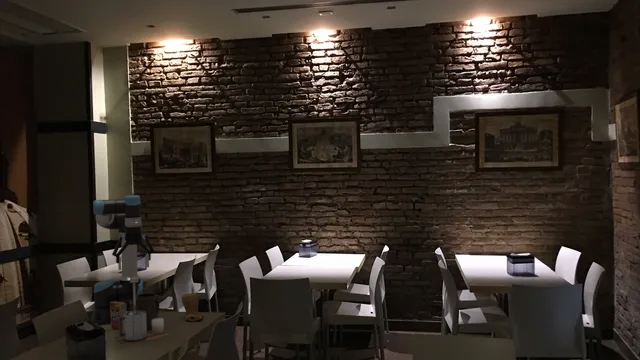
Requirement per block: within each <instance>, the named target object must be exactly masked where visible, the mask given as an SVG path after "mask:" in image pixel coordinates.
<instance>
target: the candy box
mask: <svg viewBox="0 0 640 360" xmlns="http://www.w3.org/2000/svg"><path fill="white" fill-rule="evenodd" d="M127 310H128V309H127V302H118V301H114V302H110V311H111V324H110V330H111V331H115V330H119V318H122V317H123V313H126V312H128V311H127ZM122 330H124V327H123V320H122Z"/></svg>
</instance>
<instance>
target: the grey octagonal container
mask: <svg viewBox="0 0 640 360" xmlns="http://www.w3.org/2000/svg"><path fill="white" fill-rule="evenodd" d="M132 314H134V310H130V311H127V312H126V313H123V317H122V318H119V329H118V330H119V335H118V337H119V336H124V341H126V342H137V341H142V340H145V339H146V338H147V332H148V331H147V327H146V312H145V311H141V310H137V309H136V314H138V315H132ZM122 320H123V327H124V329H122ZM137 343H138V342H137Z"/></svg>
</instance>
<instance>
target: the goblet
mask: <svg viewBox="0 0 640 360" xmlns="http://www.w3.org/2000/svg"><path fill="white" fill-rule="evenodd" d="M136 282H138V277H130V283H133V301H132V302H133V311H134V314H132V315H138V314H136V310H137V300H136V298H135V283H136Z"/></svg>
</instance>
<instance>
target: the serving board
mask: <svg viewBox="0 0 640 360" xmlns="http://www.w3.org/2000/svg"><path fill="white" fill-rule="evenodd" d="M171 337H172V336H171V335H170V334H168V333H167V332H165V331H164V333H162V334H152V330H150V331H147V338H146V339H145V340H142V341H137V342H126V341H124V336H119V335H118V336H115V337H114V338H115V340H116V341H118V343H120V345H122V346H124V345H130V344H136V343H141V342H142V343H143V342H147V341H154V340H159V339H165V338H171Z"/></svg>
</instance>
